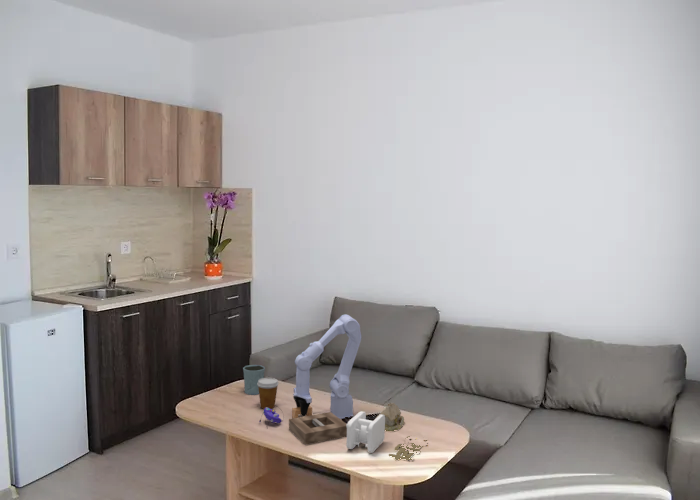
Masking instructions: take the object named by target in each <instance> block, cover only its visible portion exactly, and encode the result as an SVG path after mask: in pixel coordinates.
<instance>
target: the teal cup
mask: <svg viewBox="0 0 700 500" xmlns="http://www.w3.org/2000/svg"><path fill="white" fill-rule="evenodd" d="M265 367H266V366H263V365H260V364H250V365H245V366H244V367H242V371H243V381H244V382H243V383H244V394H245V395H248V396H257V395H258V396H259V388H258V385H257V383H258V380H260V379H262V378H265V371H266V370H265V369H266V368H265Z"/></svg>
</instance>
